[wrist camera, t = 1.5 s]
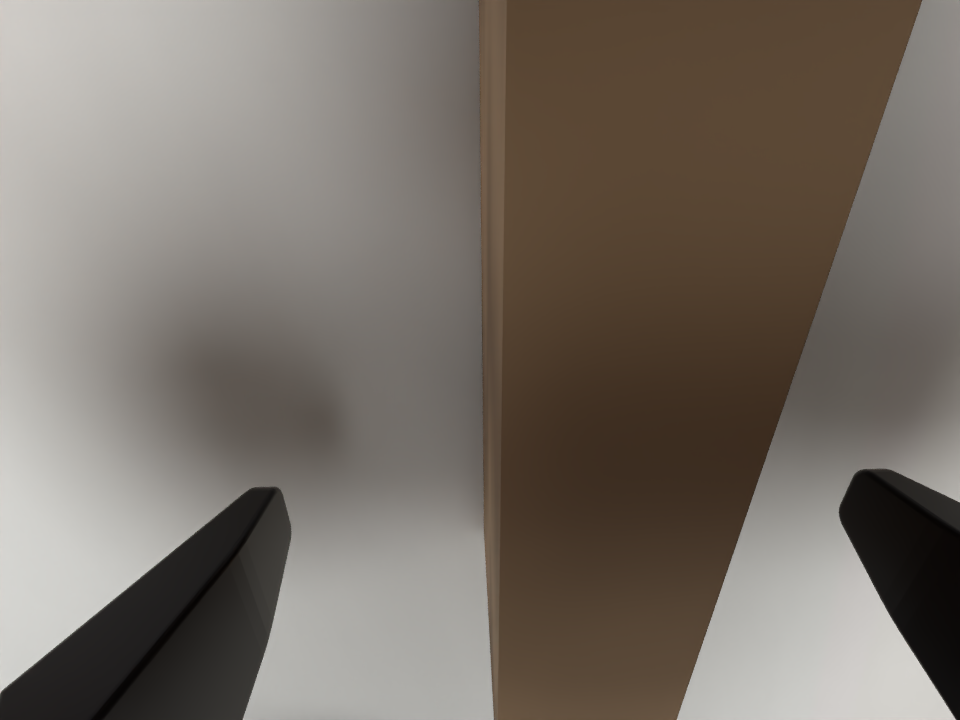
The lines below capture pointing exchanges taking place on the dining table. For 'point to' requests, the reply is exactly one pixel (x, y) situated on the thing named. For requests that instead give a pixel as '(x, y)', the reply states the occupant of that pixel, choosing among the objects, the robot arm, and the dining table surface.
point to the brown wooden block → (649, 310)
